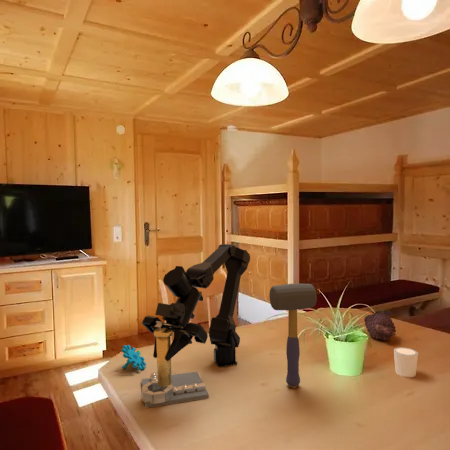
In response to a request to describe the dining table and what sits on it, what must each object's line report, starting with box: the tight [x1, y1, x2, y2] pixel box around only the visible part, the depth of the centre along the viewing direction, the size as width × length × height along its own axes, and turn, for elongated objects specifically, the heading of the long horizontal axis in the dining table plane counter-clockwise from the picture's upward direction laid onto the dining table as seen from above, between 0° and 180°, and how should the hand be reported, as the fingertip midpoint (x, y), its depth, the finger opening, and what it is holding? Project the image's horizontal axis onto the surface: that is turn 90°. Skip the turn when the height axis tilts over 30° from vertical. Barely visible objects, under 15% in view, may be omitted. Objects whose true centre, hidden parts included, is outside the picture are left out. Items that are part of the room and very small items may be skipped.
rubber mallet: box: [268, 283, 318, 388], centre depth 107 cm, size 12×8×30 cm, turn 103°
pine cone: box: [363, 312, 397, 341], centre depth 147 cm, size 18×10×10 cm, turn 10°
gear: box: [120, 344, 147, 371], centre depth 122 cm, size 11×6×10 cm
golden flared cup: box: [153, 328, 174, 387], centre depth 97 cm, size 5×5×14 cm
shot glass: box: [393, 347, 419, 378], centre depth 116 cm, size 7×7×7 cm
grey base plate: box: [141, 371, 210, 409], centre depth 107 cm, size 17×15×1 cm
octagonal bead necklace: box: [141, 372, 207, 404], centre depth 106 cm, size 17×15×2 cm
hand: (160, 358), depth 96 cm, fingers closed on golden flared cup, 4 cm apart
